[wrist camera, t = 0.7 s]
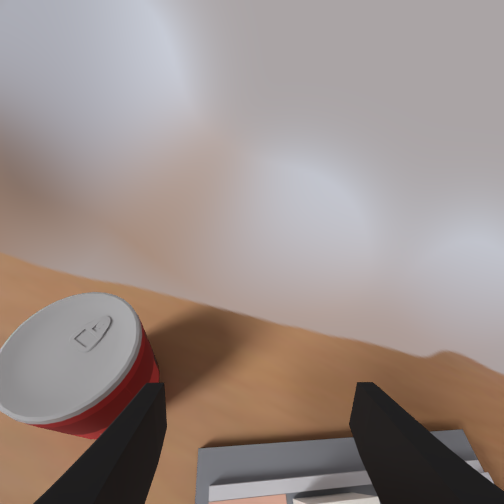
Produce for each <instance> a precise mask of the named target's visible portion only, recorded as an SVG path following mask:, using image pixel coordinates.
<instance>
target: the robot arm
mask: <svg viewBox="0 0 504 504" xmlns="http://www.w3.org/2000/svg"><path fill="white" fill-rule="evenodd" d="M349 425H350V429H351V432H352V435H353V438H354V441H355V444H356V446H357V449H358V452H359V455H360V458H361V460H362V462H363V465H364V467H365V469H366V471H367V474H368V476H369V478H370V480H371V482H372V485H373V487H374V489H375V491H376V493H377V496H378V498H379V500H380V502H381V504H504V491H503V490H501V489H500V488H499V487H497V486H496V485H495V484H493V483H492V482H491V481H489V480H488V479H487V478H486V477H484V476H483V475H482V474H480V473H479V472H478V471H477V470H475V469H474V468H473V467H472V466H470V465H469V464H468V463H467V462H465V461H464V460H463V459H462V458H460V457H459V456H458V455H457V454H455V453H454V452H453V451H452V450H451V449H449V448H448V447H447V446H446V445H445V444H443V443H442V442H441V441H440V440H439V439H437V438H436V437H435V436H434V435H433V434H431V433H430V432H429V431H428V430H427V429H426V428H424V427H423V426H422V425H421V424H420V423H419V422H418V421H416V420H415V419H414V418H413V417H412V416H411V415H410V414H408V413H407V412H406V411H405V410H404V409H403V408H402V407H401V406H399V405H398V404H397V403H396V402H395V401H394V400H393V399H392V398H390V397H389V396H388V395H387V394H386V393H385V392H384V391H382V390H381V389H380V388H379V387H378V386H377V385H375V384H374V383H373V382H357V386H356V391H355V396H354V402H353V407H352V412H351V417H350V422H349ZM166 429H167V419H166V404H165V388H164V383H146V384H145V385H144V386H143V387H142V388H141V390H140V391H139V392H138V393H137V394H136V395H135V397H134V398H133V399H132V400H131V401H130V403H129V404H128V405H127V406H126V407H125V408H124V410H123V411H122V412H121V413H120V414H119V415H118V416H117V418H116V419H115V420H114V421H113V422H112V423H111V424H110V425H109V427H108V428H107V429H106V430H105V431H104V432H103V433H102V434H101V435H100V436H99V438H98V439H97V440H96V441H95V442H94V443H93V444H92V445H91V446H90V447H89V448H88V449H87V451H86V452H85V453H84V454H83V455H82V456H81V457H80V458H79V459H78V460H77V461H76V462H75V463H74V464H73V465H72V466H71V467H70V468H69V469H68V470H67V471H66V472H65V473H64V474H63V475H62V476H61V477H60V478H59V479H58V480H57V481H56V482H55V483H54V484H53V485H52V486H51V487H50V488H49V489H48V490H47V491H46V492H45V493H44V494H43V495H42V496H41V497H40V498H39V499H38V500H37V501H36V502H35V503H33V504H145V501H146V498H147V495H148V492H149V489H150V486H151V483H152V480H153V477H154V474H155V471H156V468H157V465H158V462H159V458H160V454H161V450H162V446H163V441H164V437H165V433H166Z"/></svg>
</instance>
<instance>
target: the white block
mask: <svg viewBox="0 0 504 504" xmlns="http://www.w3.org/2000/svg"><path fill="white" fill-rule="evenodd" d="M293 504H380V502H379V498H378V497H377V496H371V495H365V494H359V493H353V492H349V493H340V494H331V495H322V496H313V497H304V498H296V499H293Z"/></svg>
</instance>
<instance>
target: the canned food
mask: <svg viewBox="0 0 504 504" xmlns="http://www.w3.org/2000/svg"><path fill="white" fill-rule="evenodd" d="M146 383H159V366H158V363H157V360H156V358H155V355H154V353H153V350H152V348H151V345H150V343H149V340H148V338H147V335H146V333H145V330H144V328H143V325H142V323H141V321H140V319H139V317H138V315H137V313H136V312H135V310H134V309H133V308H132V307H131V305H130V304H129V303H127V302H126V301H125V300H124V299H122V298H120V297H118V296H116V295H112V294H108V293H99V292H92V293H82V294H78V295H73V296H69V297H67V298H64V299H61V300H58V301H56V302H54V303H52V304H50V305H48V306H46V307H44V308H43V309H41V310H40V311H38V312H37V313H35V314H34V315H32V316H31V317H30V318H28V319H27V320H26V321H25V322H24V323H22V324H21V325H20V326H19V327H18V328H17V329H16V330H15V331H14V332H13V333H12V334H11V336H10V337H9V338H8V339H7V341H6V342H5V344H4V345H3V346H2V348H1V349H0V411H1V412H3V413H5V414H6V415H8V416H9V417H11V418H13V419H14V420H16V421H19V422H23V423H26V424H29V425H33V426H36V427H40V428H45V429H49V430H53V431H58V432H62V433H66V434H71V435H75V436H79V437H84V438H88V439H98V438H99V436H100V435H101V434H102V433H103V432H104V431H105V430H106V429H107V428H108V427H109V425H110V424H111V423H112V422H113V421H114V420H115V419H116V418H117V416H118V415H119V414H120V413H121V412H122V411H123V410H124V408H125V407H126V406H127V405H128V404H129V403H130V401H131V400H132V399H133V398H134V397H135V395H136V394H137V393H138V392H139V391H140V390H141V388H142V387H143V386H144V385H145V384H146Z"/></svg>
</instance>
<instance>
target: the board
mask: <svg viewBox="0 0 504 504" xmlns="http://www.w3.org/2000/svg"><path fill="white" fill-rule="evenodd" d="M430 433H431V434H433V435H434V436H435V437H436V438H437V439H439V440H440V441H441V442H442V443H443V444H445V445H446V446H447V447H448V448H449V449H451V450H452V451H453V452H454V453H455V454H457V455H458V456H459V457H460V458H462V459H463V460H464V461H465V462H467V463H468V464H469V465H470V466H472V467H473V468H474V469H475V470H477V471H478V472H479V473H480V474H482V475H483V476H484V477H486V478H487V479H488V480H489V481H491V482H492V483H493V484H494V482H493V481H492V479H491V477H490V475H489V473H488V472H484V470H483V468H482V467H481V465H480V463H479V461H478V459H477V457H476V455H475V453H474V451H473V449H472V447H471V445H470V443H469V441H468V439H467V437H466V435H465V434H464V432H463V430H462V429H460V430H446V431H433V432H430ZM349 492H353V493H359V494H365V495H371V496H377V493H376V491H375V489H374V487H373V485H372V482H371V480H370V478H369V476H368V474H367V471H366V469H365V467H364V465H363V462H362V460H361V458H360V455H359V452H358V449H357V446H356V444H355V441H354V438H353V437H350V438H336V439H322V440H309V441H295V442H281V443H267V444H253V445H240V446H226V447H212V448H199V449H198V465H197V480H196V496H195V504H293V499H296V498H304V497H313V496H322V495H331V494H340V493H349ZM377 497H378V496H377ZM379 502H380V500H379ZM380 504H381V502H380Z"/></svg>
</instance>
